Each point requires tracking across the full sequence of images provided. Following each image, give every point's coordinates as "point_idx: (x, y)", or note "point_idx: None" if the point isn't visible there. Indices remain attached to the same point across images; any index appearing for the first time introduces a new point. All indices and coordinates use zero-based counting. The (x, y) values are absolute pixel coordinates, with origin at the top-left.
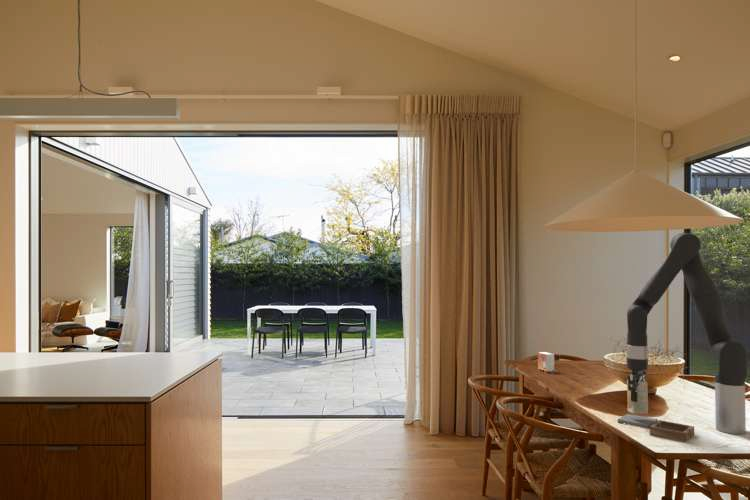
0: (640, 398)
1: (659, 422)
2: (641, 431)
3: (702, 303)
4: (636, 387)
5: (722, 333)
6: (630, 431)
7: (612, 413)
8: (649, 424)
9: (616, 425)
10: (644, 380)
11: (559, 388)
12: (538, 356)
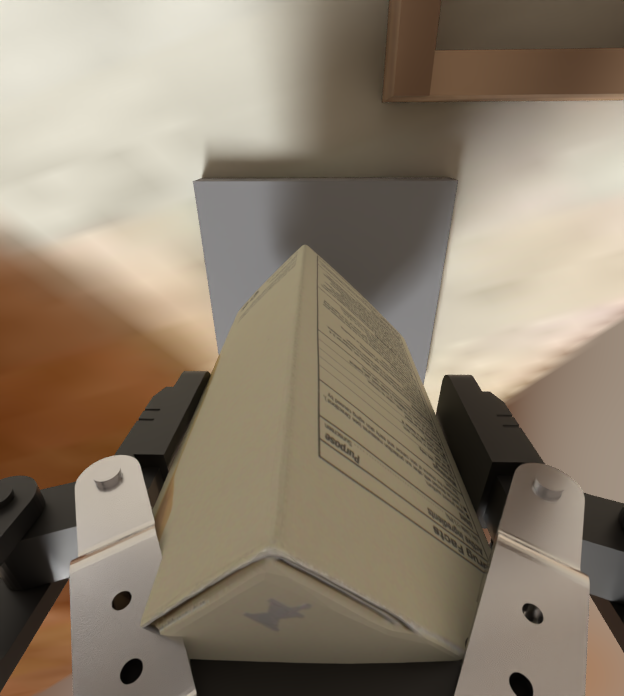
0: (379, 373)
1: (502, 58)
2: (573, 196)
3: None
4: (581, 548)
5: None
6: (613, 260)
7: None
8: (427, 182)
9: (495, 370)
10: (95, 625)
11: (16, 676)
12: None
